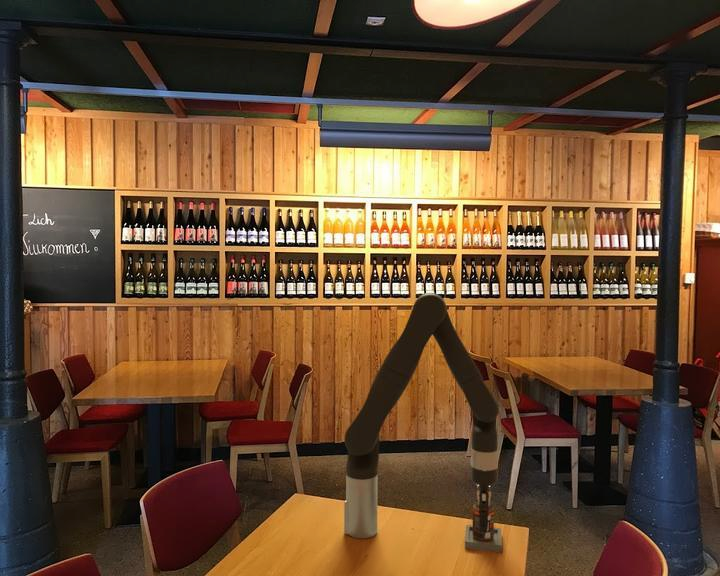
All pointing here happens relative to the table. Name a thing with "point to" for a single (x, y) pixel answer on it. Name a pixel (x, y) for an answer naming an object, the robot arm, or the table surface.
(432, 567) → the table surface
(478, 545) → the gray square tray
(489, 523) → the supplement bottle
